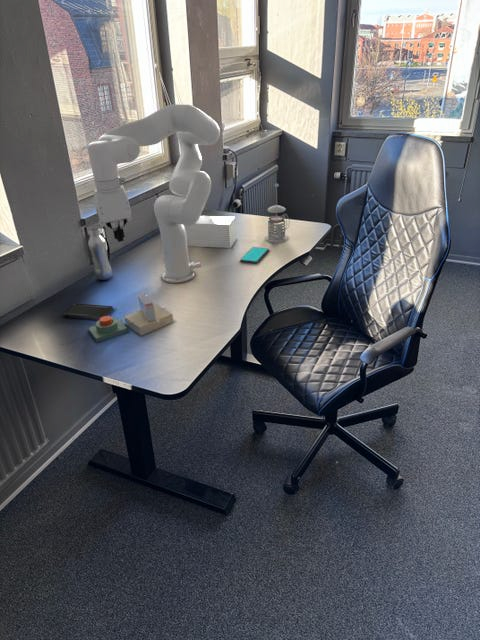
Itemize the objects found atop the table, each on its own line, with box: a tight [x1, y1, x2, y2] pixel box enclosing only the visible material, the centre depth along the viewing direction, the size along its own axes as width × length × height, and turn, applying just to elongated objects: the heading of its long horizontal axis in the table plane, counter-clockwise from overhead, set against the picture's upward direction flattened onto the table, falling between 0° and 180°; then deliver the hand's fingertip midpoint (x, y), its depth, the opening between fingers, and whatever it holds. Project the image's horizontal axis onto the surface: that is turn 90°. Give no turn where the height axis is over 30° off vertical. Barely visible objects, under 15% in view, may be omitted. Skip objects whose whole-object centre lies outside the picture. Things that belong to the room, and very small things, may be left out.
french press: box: [265, 183, 290, 244], centre depth 206 cm, size 10×12×25 cm
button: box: [100, 315, 113, 326], centre depth 144 cm, size 4×4×2 cm
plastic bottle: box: [87, 227, 113, 281], centre depth 178 cm, size 6×7×20 cm
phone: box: [63, 303, 114, 321], centre depth 157 cm, size 8×1×15 cm
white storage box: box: [184, 215, 237, 249], centre depth 210 cm, size 32×11×11 cm, turn 76°
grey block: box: [137, 293, 156, 322], centre depth 147 cm, size 9×3×6 cm, turn 26°
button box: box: [87, 316, 128, 343], centre depth 146 cm, size 10×8×4 cm
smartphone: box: [240, 246, 270, 264], centre depth 195 cm, size 7×1×15 cm
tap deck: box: [123, 303, 174, 337], centre depth 149 cm, size 13×13×3 cm
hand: (120, 240), depth 151 cm, fingers closed
